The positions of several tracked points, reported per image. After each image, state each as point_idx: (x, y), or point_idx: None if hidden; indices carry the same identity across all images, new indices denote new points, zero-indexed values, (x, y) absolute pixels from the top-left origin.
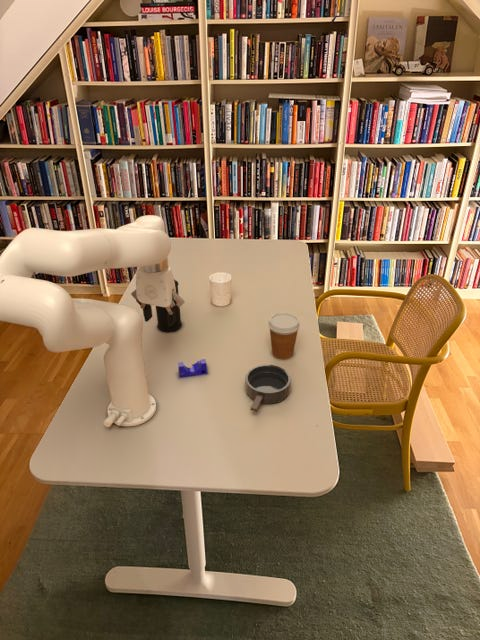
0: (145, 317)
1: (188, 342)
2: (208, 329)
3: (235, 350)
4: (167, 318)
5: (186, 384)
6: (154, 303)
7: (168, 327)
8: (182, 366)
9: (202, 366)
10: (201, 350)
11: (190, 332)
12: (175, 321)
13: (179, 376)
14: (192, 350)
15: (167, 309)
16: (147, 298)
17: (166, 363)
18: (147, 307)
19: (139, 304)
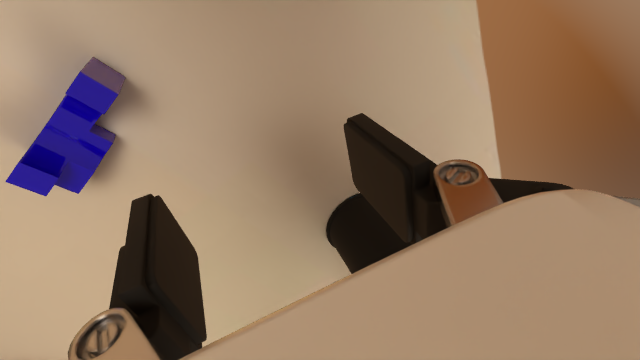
0: (370, 130)
1: (258, 215)
2: (259, 283)
3: (99, 292)
4: (150, 246)
5: (16, 40)
6: (302, 344)
7: (349, 214)
8: (69, 87)
9: (22, 158)
10: (189, 220)
11: (290, 244)
12: (343, 243)
13: (91, 59)
14: (213, 201)
15: (138, 356)
16: (507, 352)
17: (224, 93)
18: (415, 208)
19: (502, 179)
